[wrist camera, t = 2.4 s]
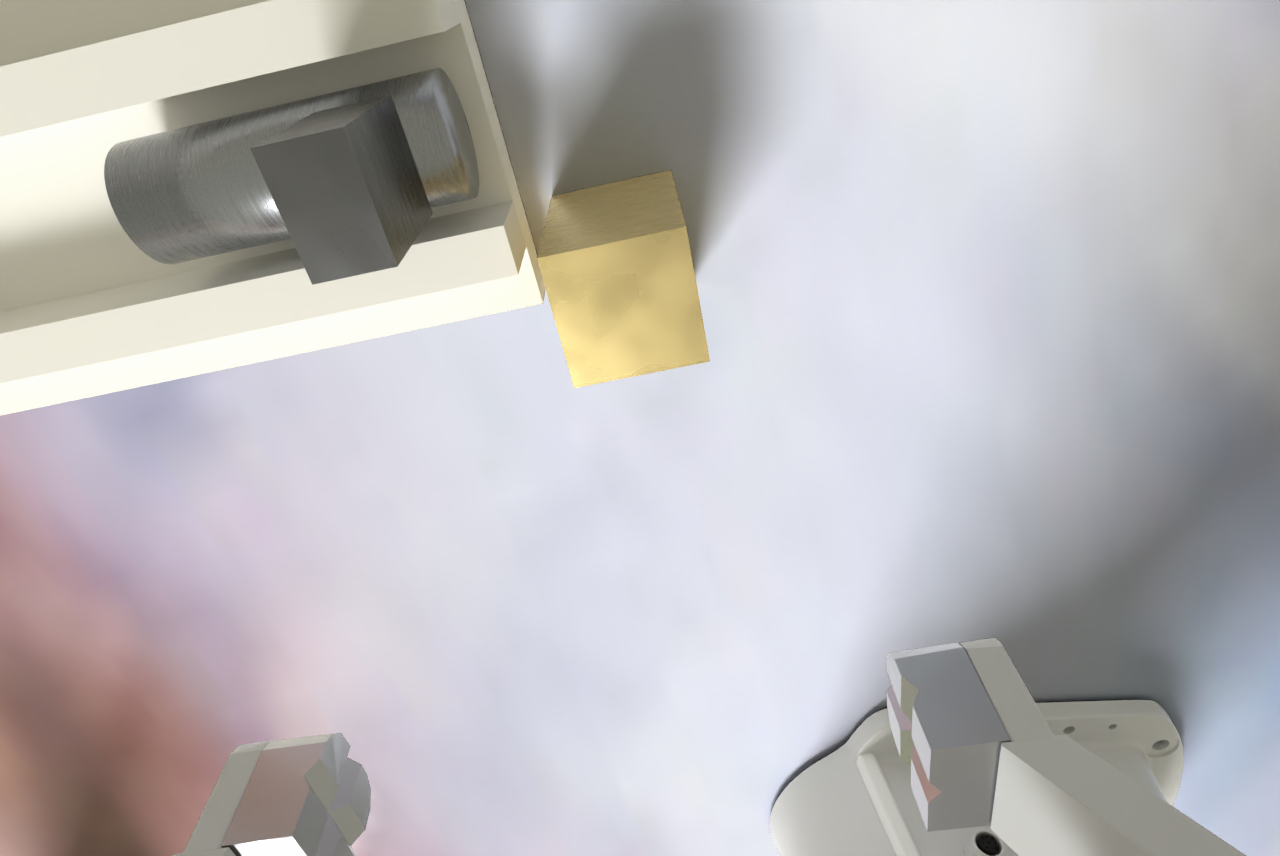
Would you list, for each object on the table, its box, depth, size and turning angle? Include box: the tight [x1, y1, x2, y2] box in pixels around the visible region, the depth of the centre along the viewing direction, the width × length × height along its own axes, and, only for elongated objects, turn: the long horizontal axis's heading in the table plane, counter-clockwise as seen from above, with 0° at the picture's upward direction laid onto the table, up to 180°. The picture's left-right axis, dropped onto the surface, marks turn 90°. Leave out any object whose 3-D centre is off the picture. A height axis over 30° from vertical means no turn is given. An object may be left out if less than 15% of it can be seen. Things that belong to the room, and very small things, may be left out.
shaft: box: [104, 68, 479, 285], centre depth 20 cm, size 9×3×7 cm, turn 102°
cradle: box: [0, 0, 546, 415], centre depth 23 cm, size 22×12×4 cm, turn 102°
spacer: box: [537, 170, 710, 388], centre depth 24 cm, size 4×4×6 cm
